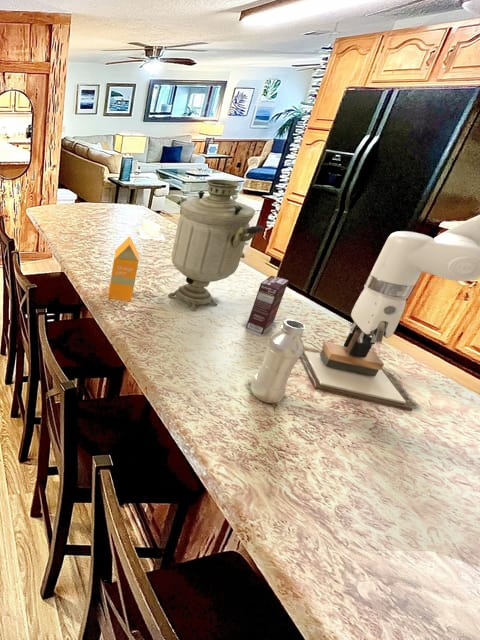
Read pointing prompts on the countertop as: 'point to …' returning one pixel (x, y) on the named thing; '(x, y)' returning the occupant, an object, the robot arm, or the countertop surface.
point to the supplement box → (266, 305)
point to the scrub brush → (350, 358)
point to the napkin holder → (151, 231)
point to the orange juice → (124, 271)
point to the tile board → (353, 383)
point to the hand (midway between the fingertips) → (354, 351)
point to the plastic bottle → (279, 362)
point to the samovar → (210, 240)
